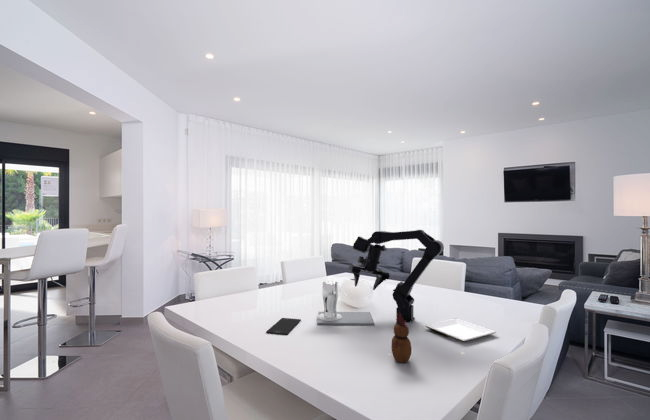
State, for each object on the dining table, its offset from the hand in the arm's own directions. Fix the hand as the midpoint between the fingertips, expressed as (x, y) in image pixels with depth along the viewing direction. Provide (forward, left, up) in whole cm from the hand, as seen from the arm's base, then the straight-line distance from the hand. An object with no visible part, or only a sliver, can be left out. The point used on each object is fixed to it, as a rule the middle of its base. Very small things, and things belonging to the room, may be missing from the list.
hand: (364, 288), depth 151 cm
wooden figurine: (-31, +39, -12) cm, 51 cm away
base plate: (+3, +13, -12) cm, 18 cm away
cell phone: (+20, +35, -12) cm, 42 cm away
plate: (-42, +3, -12) cm, 44 cm away
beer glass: (+9, +16, -11) cm, 22 cm away
